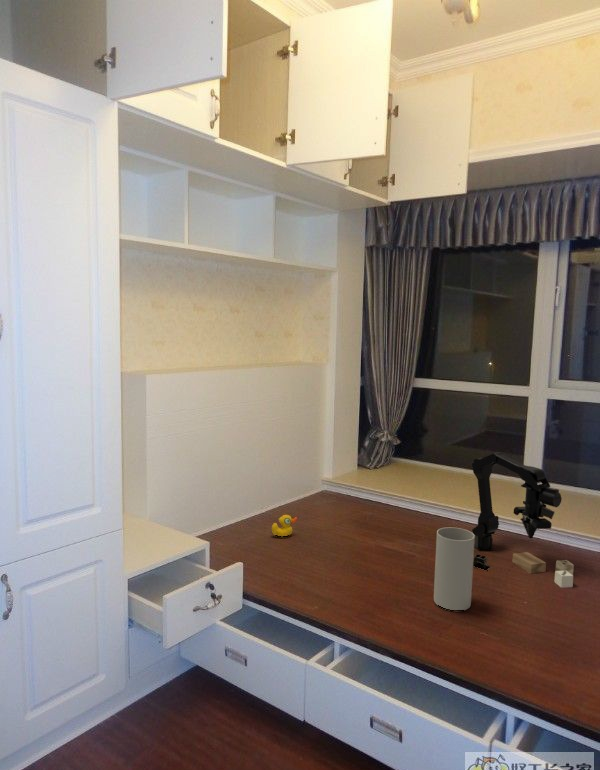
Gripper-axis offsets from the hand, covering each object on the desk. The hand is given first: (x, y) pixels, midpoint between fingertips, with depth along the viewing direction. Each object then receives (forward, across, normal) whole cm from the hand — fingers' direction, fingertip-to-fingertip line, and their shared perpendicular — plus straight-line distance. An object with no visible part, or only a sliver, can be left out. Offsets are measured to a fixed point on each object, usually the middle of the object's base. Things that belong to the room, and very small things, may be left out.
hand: (530, 538), depth 229 cm
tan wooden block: (+12, 0, 0) cm, 12 cm away
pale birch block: (+12, -7, -11) cm, 18 cm away
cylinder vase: (+12, -26, +43) cm, 52 cm away
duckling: (+12, +40, +95) cm, 104 cm away
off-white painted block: (+12, -16, -5) cm, 21 cm away
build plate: (+13, +2, +20) cm, 23 cm away
